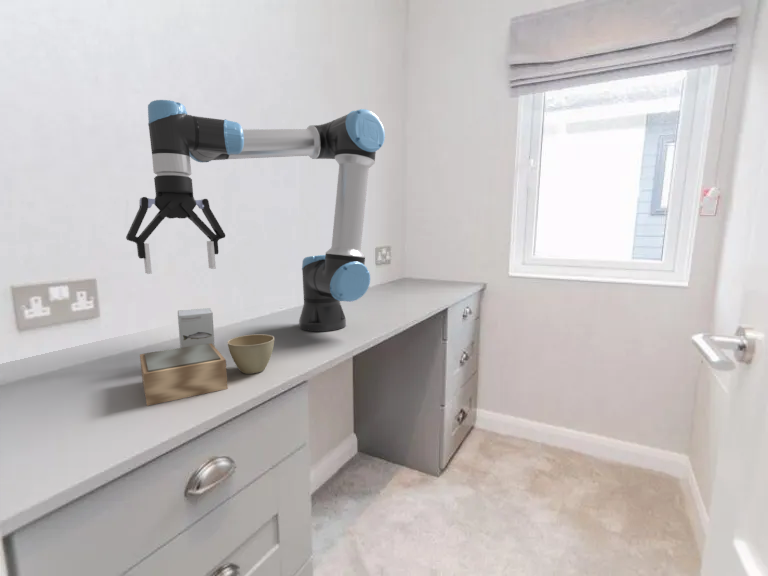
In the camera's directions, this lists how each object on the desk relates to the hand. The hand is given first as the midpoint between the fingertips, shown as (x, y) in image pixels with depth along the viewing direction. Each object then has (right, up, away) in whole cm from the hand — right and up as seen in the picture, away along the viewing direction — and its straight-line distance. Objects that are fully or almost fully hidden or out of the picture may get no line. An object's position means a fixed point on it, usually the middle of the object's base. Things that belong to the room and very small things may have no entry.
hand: (181, 270), depth 93 cm
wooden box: (+6, -24, -11) cm, 27 cm away
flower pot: (+17, -23, -2) cm, 28 cm away
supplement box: (+2, -22, +4) cm, 22 cm away
